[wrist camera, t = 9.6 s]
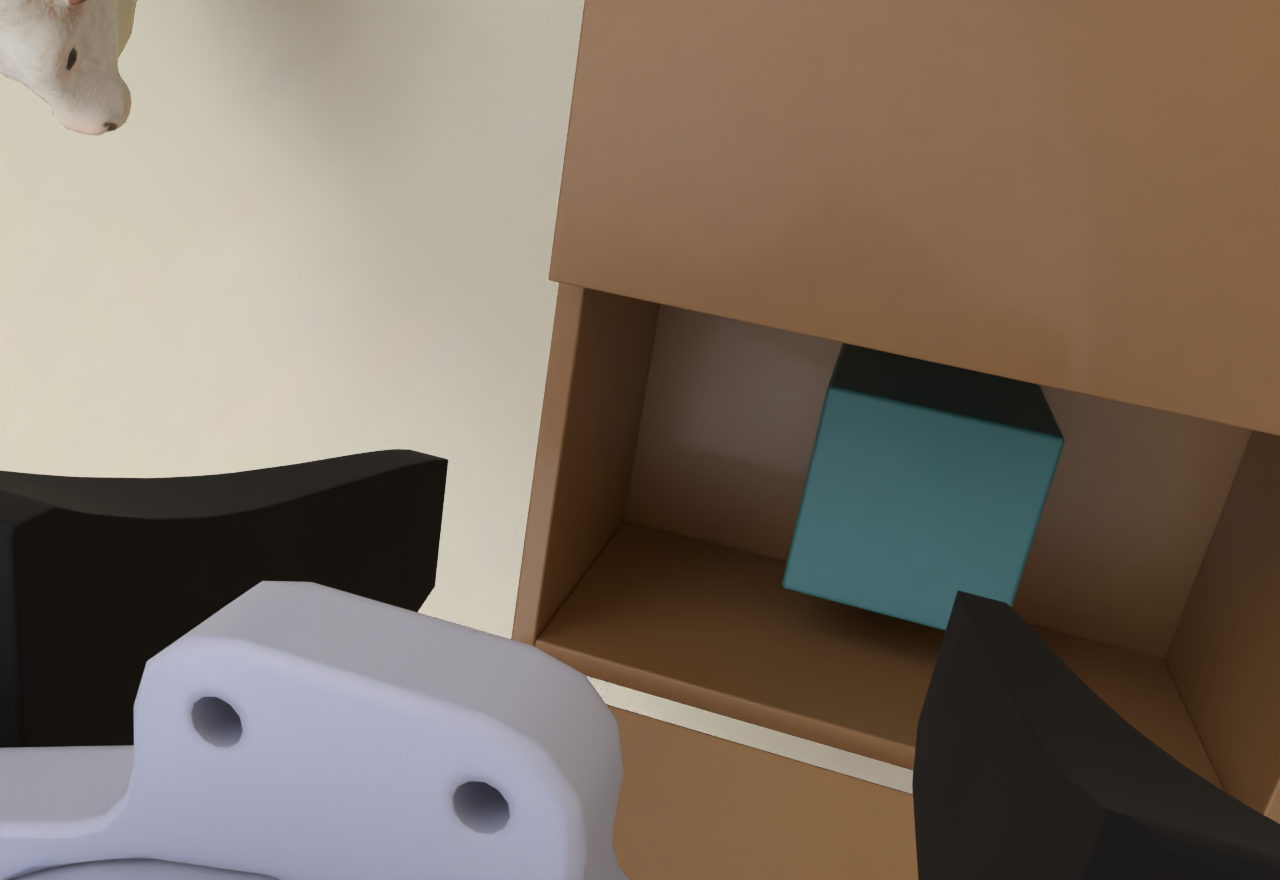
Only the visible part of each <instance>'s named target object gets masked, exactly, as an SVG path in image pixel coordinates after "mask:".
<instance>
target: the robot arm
mask: <svg viewBox="0 0 1280 880" xmlns="http://www.w3.org/2000/svg"><path fill="white" fill-rule="evenodd" d="M447 465H448V460H447V459H444V458H440V457H436V456H432V455H428V454H424V453H420V452H416V451H412V450H399V449H397V450H384V451H375V452H368V453H361V454H354V455H348V456H342V457H336V458H330V459H324V460H318V461H312V462H306V463H301V464H294V465H287V466H280V467H273V468H265V469H258V470H251V471H244V472H236V473H228V474H218V475H206V476H192V477H172V478H91V477H66V476H52V475H38V474H27V473H17V472H8V471H0V880H629V879H628V877H627V876H626V875H625V873H624V872H623V871H622V869H621V868H620V867H619V865H618V863H617V860H616V856H615V852H614V848H613V836H614V820H615V815H616V810H617V804H618V799H619V794H620V788H621V783H622V778H623V773H624V771H623V762H622V753H621V744H620V735H619V726H618V721H617V719H616V718H615V716H614V715H613V714H612V712H611V711H610V709H609V708H608V707H607V705H606V704H605V702H604V701H603V700H602V698H601V697H600V695H599V694H598V693H597V691H596V690H595V688H594V687H593V686H592V684H591V683H590V681H589V680H588V679H587V677H586V676H585V674H583V673H581V672H579V671H577V670H576V669H574V668H572V667H570V666H568V665H567V664H565V663H563V662H561V661H559V660H558V659H556V658H554V657H552V656H550V655H549V654H547V653H545V652H543V651H541V650H540V649H538V648H536V647H534V646H532V645H528V644H525V643H521V642H518V641H514V640H511V639H507V638H504V637H500V636H497V635H493V634H490V633H486V632H483V631H479V630H476V629H473V628H469V627H466V626H462V625H459V624H455V623H452V622H448V621H445V620H441V619H438V618H434V617H431V616H427V615H424V614H421V613H417V612H418V610H419V609H420V607H421V606H422V604H423V603H424V601H425V600H426V598H427V597H428V595H429V594H430V592H431V591H432V589H433V588H434V586H435V578H436V569H437V559H438V550H439V540H440V531H441V522H442V512H443V503H444V493H445V484H446V474H447ZM913 804H914V820H915V837H916V852H917V866H918V880H1280V824H1279V823H1277V822H1276V821H1274V820H1272V819H1270V818H1268V817H1267V816H1265V815H1263V814H1261V813H1259V812H1258V811H1256V810H1254V809H1252V808H1250V807H1249V806H1247V805H1245V804H1244V803H1242V802H1241V801H1239V800H1237V799H1236V798H1234V797H1233V796H1231V795H1229V794H1228V793H1226V792H1224V791H1223V790H1221V789H1220V788H1218V787H1216V786H1215V785H1213V784H1212V783H1210V782H1208V781H1207V780H1205V779H1204V778H1202V777H1201V776H1199V775H1198V774H1196V773H1195V772H1193V771H1192V770H1190V769H1189V768H1187V767H1186V766H1184V765H1183V764H1181V763H1180V762H1179V761H1177V760H1176V759H1175V758H1173V757H1172V756H1171V755H1169V754H1168V753H1167V752H1165V751H1164V750H1163V749H1161V748H1160V747H1159V746H1157V745H1156V744H1155V743H1153V742H1152V741H1151V740H1149V739H1148V738H1147V737H1145V736H1144V735H1143V734H1141V733H1140V732H1139V731H1138V730H1137V729H1135V728H1134V727H1133V726H1132V725H1130V724H1129V723H1128V722H1127V721H1126V720H1124V719H1123V718H1122V717H1121V716H1120V715H1119V714H1118V713H1117V712H1115V711H1114V710H1113V709H1112V708H1111V707H1110V706H1109V705H1108V704H1107V703H1106V702H1104V701H1103V700H1102V699H1101V698H1100V697H1099V696H1098V695H1097V694H1096V693H1095V692H1093V691H1092V690H1091V689H1090V688H1089V687H1088V686H1087V685H1086V684H1085V683H1084V682H1083V681H1082V680H1081V679H1080V678H1079V677H1078V676H1077V675H1076V674H1075V673H1074V672H1073V671H1072V670H1071V669H1070V668H1069V667H1068V666H1067V665H1066V664H1065V663H1064V662H1063V661H1062V659H1061V658H1060V657H1059V656H1058V655H1057V654H1056V653H1055V652H1054V651H1053V650H1052V649H1051V648H1050V647H1049V646H1048V645H1047V644H1046V642H1045V641H1044V640H1043V639H1042V638H1041V637H1040V636H1039V635H1038V634H1037V633H1036V632H1035V631H1034V630H1033V628H1032V627H1031V626H1030V625H1029V624H1028V623H1027V622H1026V621H1025V620H1024V619H1023V618H1022V617H1021V616H1020V615H1019V614H1018V613H1017V612H1016V611H1015V610H1014V609H1013V608H1012V607H1011V606H1010V605H1008V604H1007V603H1005V602H1002V601H998V600H994V599H990V598H986V597H982V596H978V595H974V594H970V593H966V592H963V591H959V590H958V591H957V594H956V598H955V601H954V604H953V608H952V611H951V614H950V618H949V621H948V624H947V628H946V631H945V634H944V638H943V641H942V644H941V647H940V651H939V654H938V657H937V661H936V664H935V667H934V671H933V674H932V677H931V681H930V684H929V687H928V691H927V694H926V697H925V701H924V704H923V707H922V711H921V714H920V717H919V721H918V726H917V737H916V748H915V759H914V772H913Z"/></svg>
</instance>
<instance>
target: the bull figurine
mask: <svg viewBox="0 0 1280 880" xmlns="http://www.w3.org/2000/svg"><path fill="white" fill-rule="evenodd" d="M136 2H137V0H0V73H1V74H3V75H4V76H6V77H8V78H10V79H13V80H15V81H18V82H20V83H22V84H23V85H25V86H26V87H27V88H28V89H30V90H31V91H32V92H33V93H35V94H36V95H38V96H39V97H40V98H42V99H43V100H44V101H45V102H46V103H48V104H49V105H50V107H51V109H52V114H53V116H54V117H55V118H56V120H57V121H58V122H59V123H60V124H61V125H62V126H64V127H65V128H67V129H69V130H72V131H76V132H79V133H83V134H87V135H101V134H103V133H105V132H109V131H113V130H116V129H117V128H119V127H120V126H122V125H123V124H124V123H125V122H126V120H127V118H128V116H129V113H130V107H131V96H130V91H129V89H128V87H127V85H126V84H125V82H124V81H123V79H122V78H121V77H120V74H119V72H118V65H117V64H118V57H119V56H120V54H121V53H122V51H123V49H124V47H125V45H126V43H127V41H128V39H129V37H130V35H131V33H132V27H133V21H134V13H135V7H136Z"/></svg>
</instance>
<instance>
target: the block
mask: <svg viewBox="0 0 1280 880" xmlns="http://www.w3.org/2000/svg"><path fill="white" fill-rule="evenodd" d="M1064 443H1065V441H1064V437H1063V435H1062V432H1061V430H1060V428H1059V426H1058V424H1057V422H1056V419H1055V417H1054V415H1053V413H1052V411H1051V409H1050V407H1049V404H1048V402H1047V400H1046V398H1045V396H1044V394H1043V391H1042V389H1041V387H1040V385H1038V384H1033V383H1029V382H1024V381H1019V380H1015V379H1010V378H1005V377H1000V376H996V375H991V374H986V373H982V372H977V371H972V370H968V369H963V368H958V367H954V366H949V365H944V364H940V363H935V362H930V361H925V360H921V359H916V358H911V357H907V356H902V355H897V354H893V353H888V352H883V351H879V350H874V349H869V348H865V347H860V346H855V345H850V344H846V343H843V344H842V347H841V350H840V353H839V356H838V358H837V361H836V364H835V367H834V370H833V373H832V376H831V379H830V382H829V385H828V388H827V391H826V396H825V400H824V404H823V409H822V413H821V417H820V422H819V426H818V430H817V435H816V439H815V443H814V447H813V452H812V456H811V460H810V465H809V469H808V473H807V478H806V482H805V486H804V491H803V495H802V499H801V503H800V508H799V512H798V516H797V521H796V525H795V529H794V534H793V538H792V542H791V547H790V551H789V555H788V559H787V564H786V568H785V572H784V577H783V581H782V585H783V587H784V588H786V589H789V590H793V591H797V592H801V593H804V594H808V595H812V596H816V597H820V598H823V599H827V600H831V601H835V602H839V603H843V604H846V605H850V606H854V607H858V608H862V609H865V610H869V611H873V612H877V613H881V614H884V615H888V616H892V617H896V618H900V619H903V620H907V621H911V622H915V623H919V624H922V625H926V626H930V627H934V628H938V629H942V630H945V631H946V628H947V624H948V621H949V618H950V614H951V611H952V608H953V604H954V601H955V598H956V594H957V591H958V590H959V591H963V592H966V593H970V594H974V595H978V596H982V597H986V598H990V599H994V600H998V601H1002V602H1005V603H1007V604H1008V605H1010V606H1011V607H1012V605H1013V602H1014V599H1015V596H1016V593H1017V590H1018V586H1019V583H1020V580H1021V577H1022V574H1023V571H1024V568H1025V565H1026V561H1027V558H1028V555H1029V552H1030V549H1031V546H1032V543H1033V540H1034V536H1035V533H1036V530H1037V527H1038V524H1039V521H1040V518H1041V515H1042V511H1043V508H1044V505H1045V502H1046V499H1047V496H1048V493H1049V490H1050V486H1051V483H1052V480H1053V477H1054V474H1055V471H1056V468H1057V465H1058V461H1059V458H1060V455H1061V452H1062V449H1063V446H1064Z"/></svg>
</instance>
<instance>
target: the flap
mask: <svg viewBox="0 0 1280 880" xmlns="http://www.w3.org/2000/svg"><path fill="white" fill-rule="evenodd" d="M606 705H607V704H606ZM607 707H608V708H609V709H610V711H611V712H612V714H613V715H614V716H615V718H616V719H617V721H618V726H619V735H620V744H621V753H622V762H623V771H624V773H623V778H622V783H621V788H620V794H619V799H618V804H617V810H616V815H615V820H614V836H613V848H614V852H615V856H616V860H617V863H618V865H619V867H620V868H621V869H622V871H623V872H624V873H625V875H626V876H627V877H628V879H629V880H918V866H917V852H916V837H915V820H914V804H913V794H909V793H906V792H903V791H899V790H896V789H892V788H889V787H886V786H882V785H879V784H875V783H872V782H869V781H865V780H862V779H858V778H855V777H852V776H848V775H845V774H841V773H838V772H835V771H831V770H828V769H824V768H821V767H818V766H814V765H811V764H807V763H804V762H801V761H797V760H794V759H790V758H787V757H784V756H780V755H777V754H773V753H770V752H767V751H763V750H760V749H756V748H753V747H750V746H746V745H743V744H739V743H736V742H733V741H729V740H726V739H722V738H719V737H716V736H712V735H709V734H705V733H702V732H699V731H695V730H692V729H688V728H685V727H682V726H678V725H675V724H671V723H668V722H664V721H661V720H658V719H654V718H651V717H647V716H644V715H641V714H637V713H634V712H630V711H627V710H624V709H620V708H617V707H613V706H610V705H607Z"/></svg>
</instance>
